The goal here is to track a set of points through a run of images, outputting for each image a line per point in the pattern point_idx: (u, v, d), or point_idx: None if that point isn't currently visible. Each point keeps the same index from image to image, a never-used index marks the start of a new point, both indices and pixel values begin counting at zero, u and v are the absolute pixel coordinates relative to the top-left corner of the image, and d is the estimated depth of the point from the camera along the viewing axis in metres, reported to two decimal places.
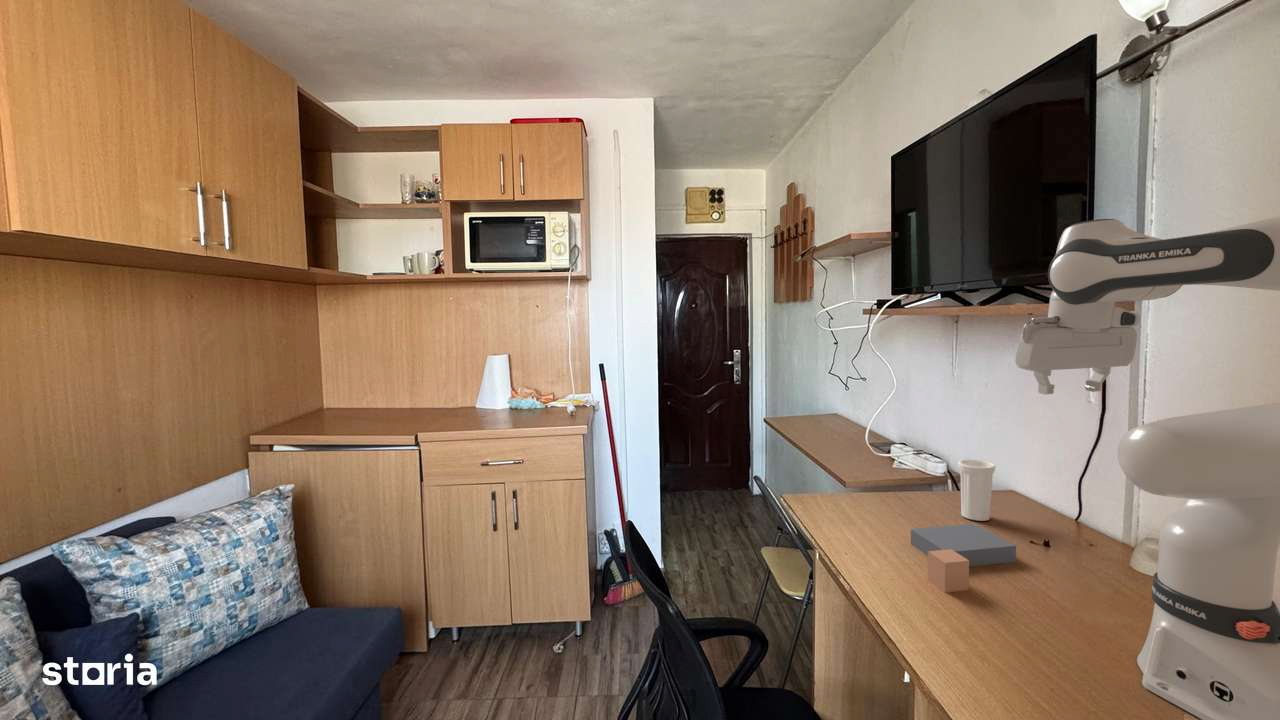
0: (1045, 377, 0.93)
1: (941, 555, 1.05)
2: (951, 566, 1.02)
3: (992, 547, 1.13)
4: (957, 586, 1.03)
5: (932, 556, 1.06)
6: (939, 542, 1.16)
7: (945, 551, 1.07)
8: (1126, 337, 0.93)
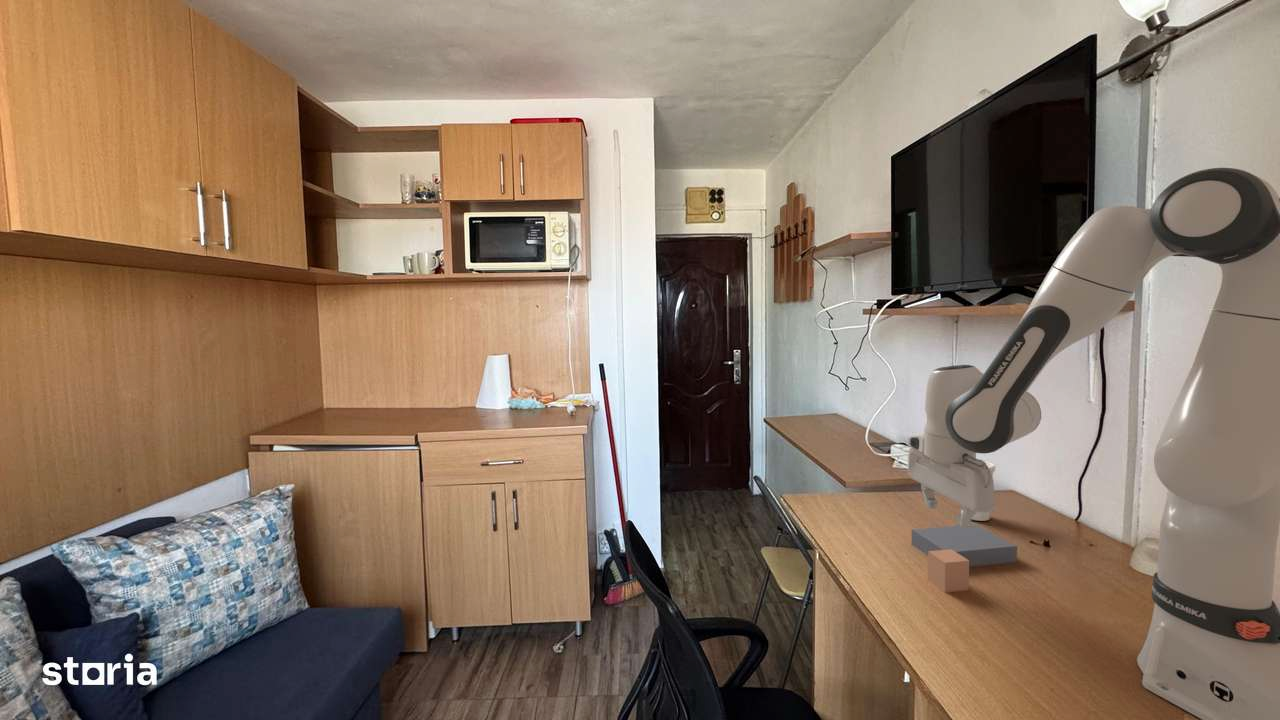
0: (974, 512, 0.98)
1: (941, 555, 1.05)
2: (951, 566, 1.02)
3: (993, 547, 1.13)
4: (957, 586, 1.03)
5: (932, 556, 1.06)
6: (941, 542, 1.16)
7: (945, 551, 1.07)
8: None
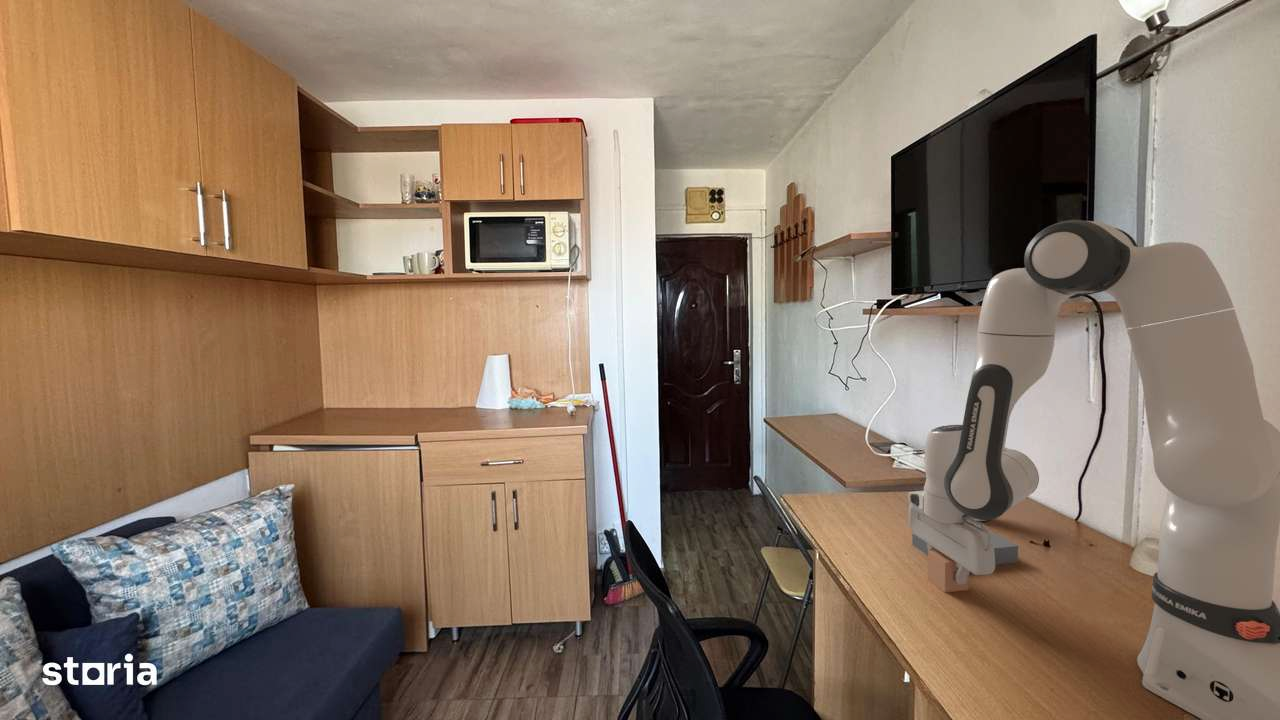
0: None
1: (941, 555, 1.05)
2: (951, 565, 1.02)
3: (994, 547, 1.13)
4: (957, 586, 1.03)
5: (932, 556, 1.06)
6: None
7: None
8: None
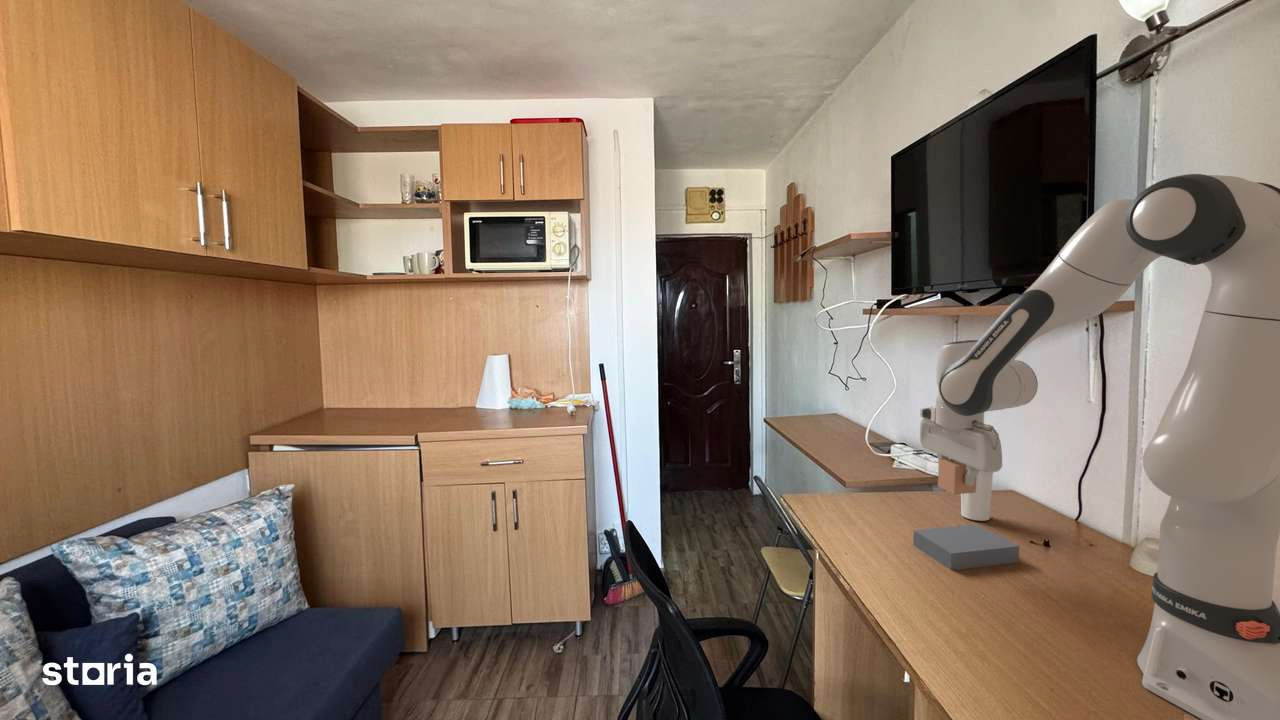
0: None
1: (951, 462, 1.14)
2: (960, 469, 1.11)
3: (996, 548, 1.12)
4: (965, 488, 1.12)
5: (942, 463, 1.14)
6: (943, 543, 1.15)
7: None
8: None
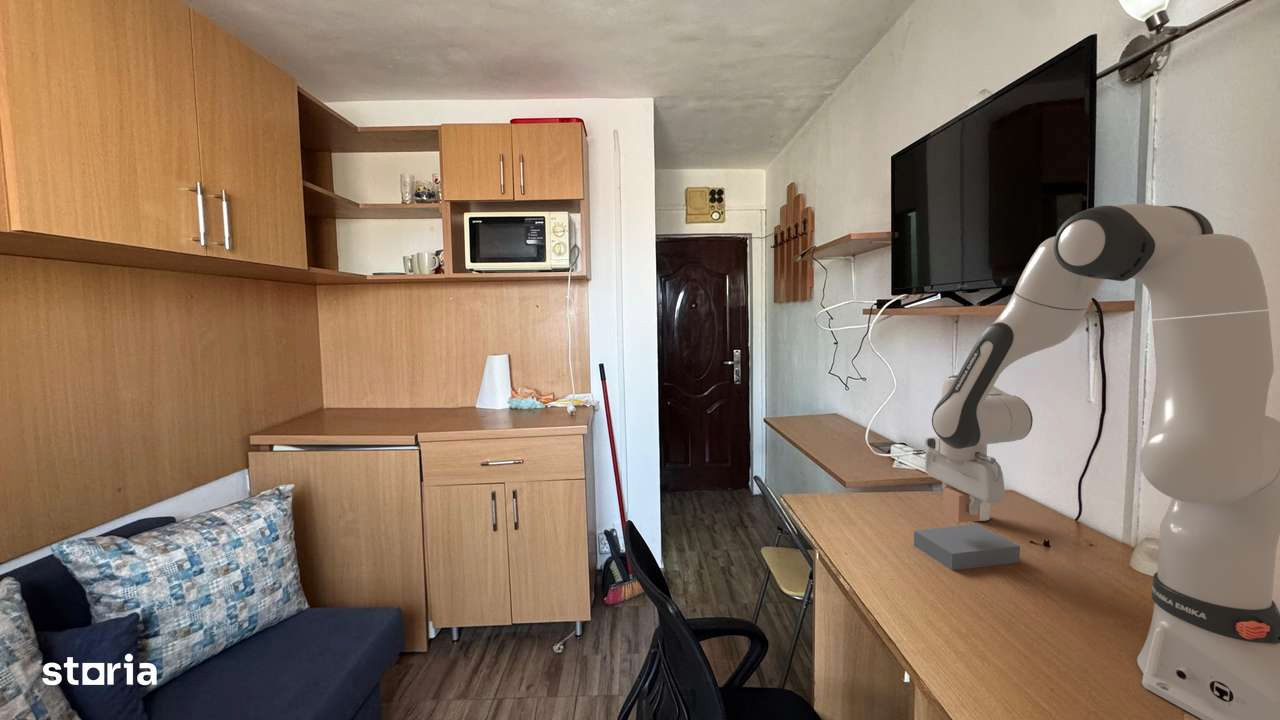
0: (981, 500, 1.13)
1: (955, 491, 1.17)
2: (964, 498, 1.15)
3: (996, 548, 1.12)
4: (969, 517, 1.15)
5: (947, 492, 1.18)
6: (944, 543, 1.15)
7: None
8: None
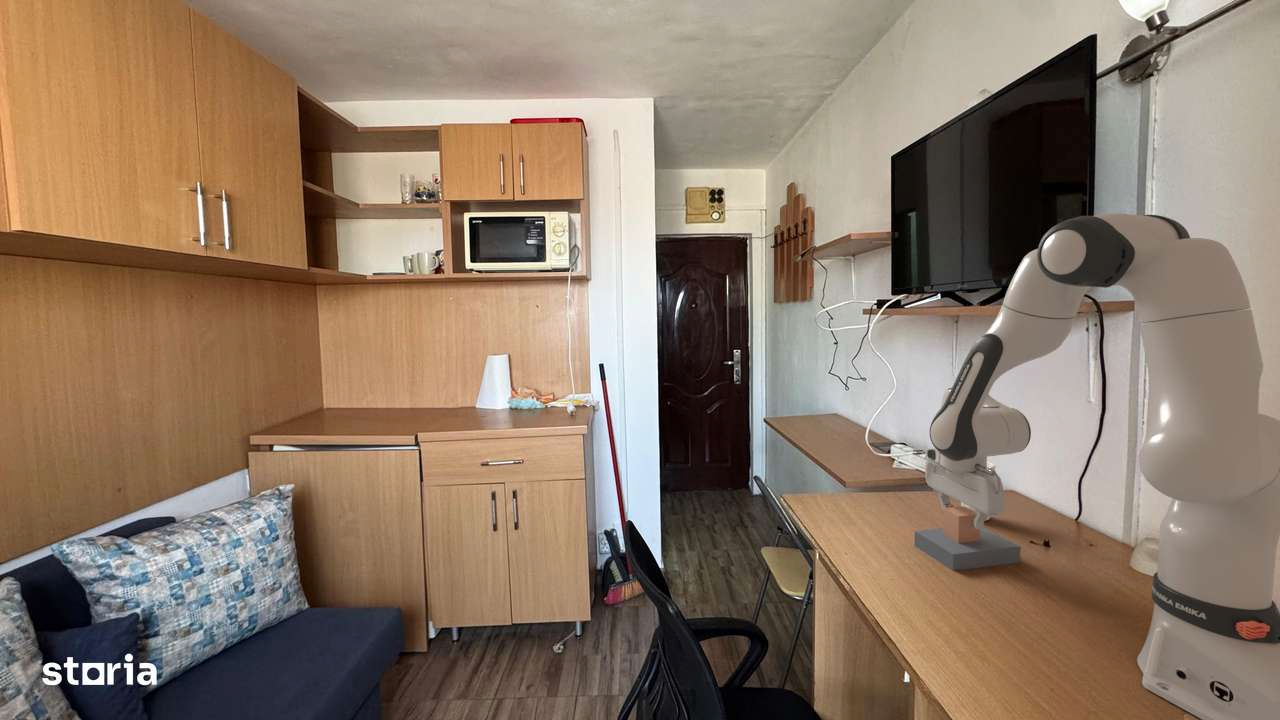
0: (987, 515, 1.11)
1: (955, 511, 1.18)
2: (964, 519, 1.15)
3: (997, 548, 1.12)
4: (969, 537, 1.16)
5: (946, 512, 1.19)
6: (945, 544, 1.15)
7: (958, 507, 1.19)
8: None
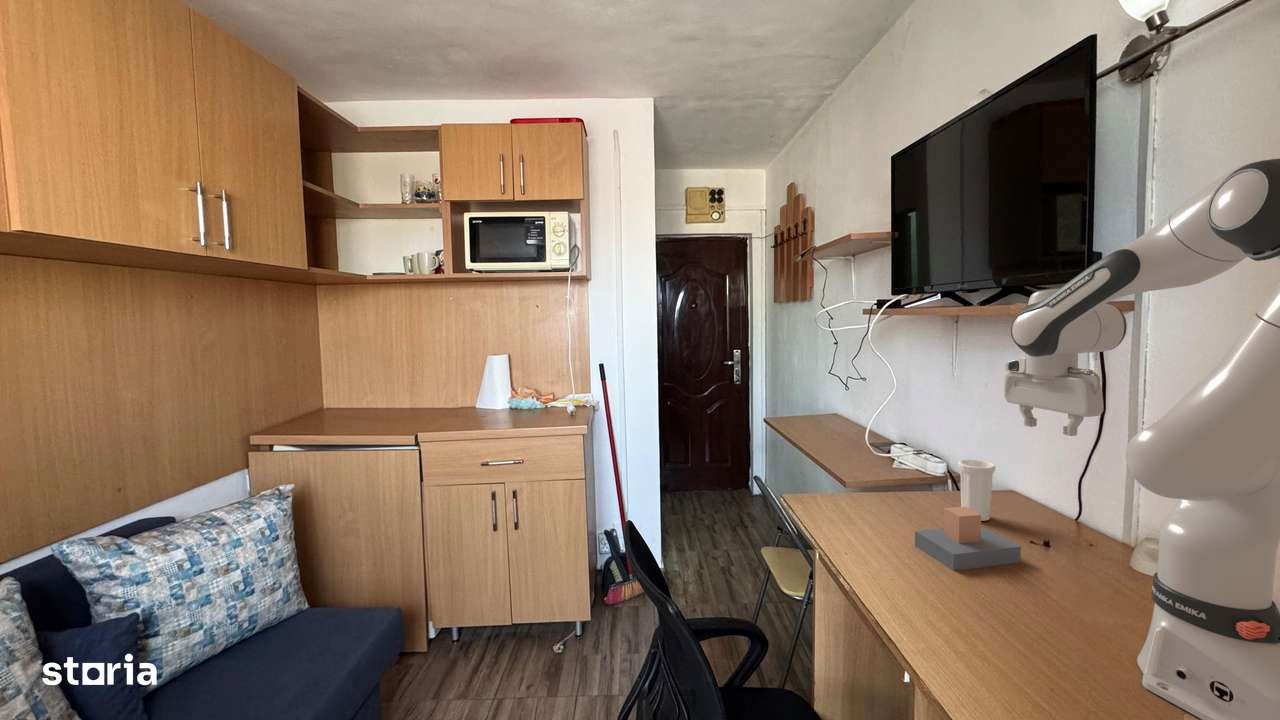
0: None
1: (956, 511, 1.18)
2: (965, 519, 1.15)
3: (998, 548, 1.12)
4: (970, 537, 1.16)
5: (947, 512, 1.19)
6: (945, 544, 1.15)
7: (959, 508, 1.19)
8: None
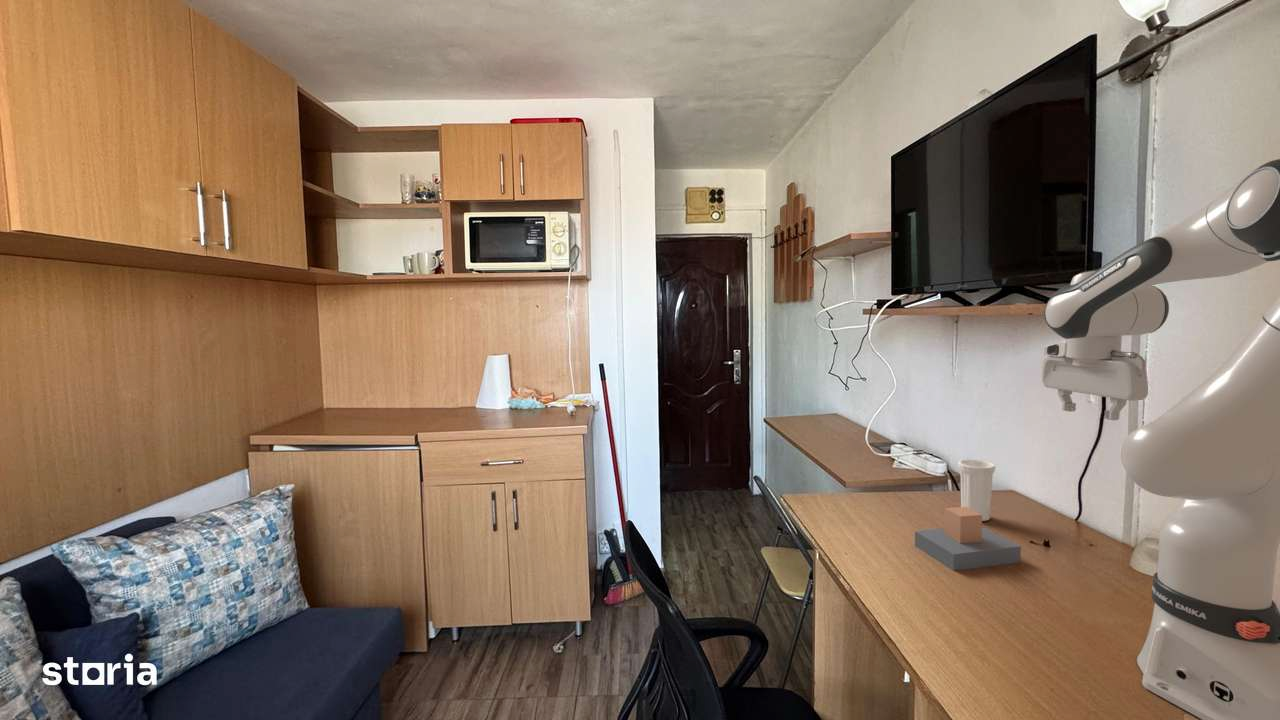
0: None
1: (957, 511, 1.18)
2: (966, 519, 1.15)
3: (998, 548, 1.12)
4: (971, 537, 1.15)
5: (948, 512, 1.18)
6: (945, 544, 1.15)
7: (960, 508, 1.19)
8: None
